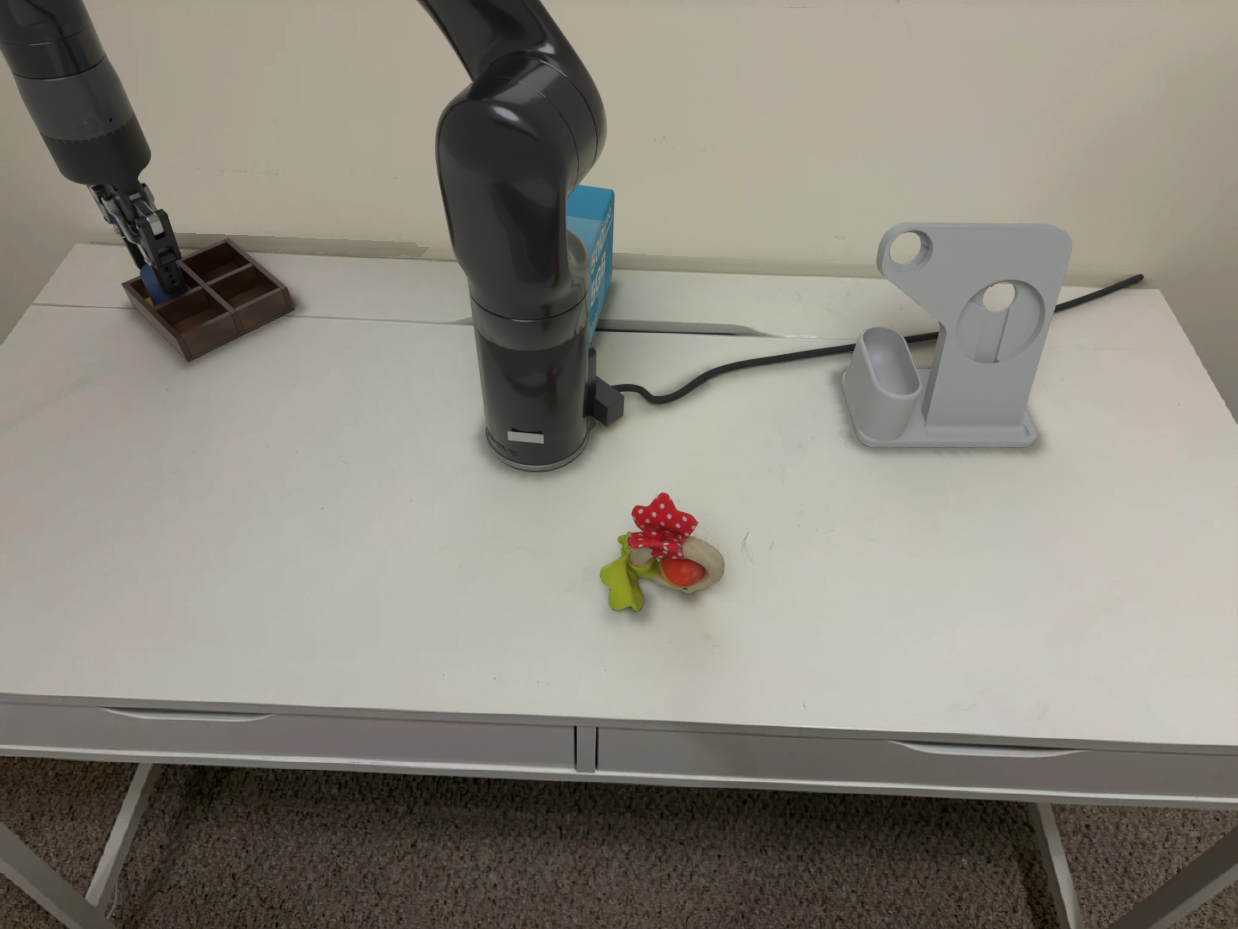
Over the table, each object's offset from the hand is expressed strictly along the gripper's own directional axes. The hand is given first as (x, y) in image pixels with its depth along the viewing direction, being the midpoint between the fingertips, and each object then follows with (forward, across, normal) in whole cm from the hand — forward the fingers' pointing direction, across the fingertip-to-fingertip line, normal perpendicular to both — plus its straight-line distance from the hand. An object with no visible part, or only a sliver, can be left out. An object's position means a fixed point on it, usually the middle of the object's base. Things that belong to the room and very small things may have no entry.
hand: (161, 277), depth 83 cm
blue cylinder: (+3, 0, 0) cm, 3 cm away
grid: (+4, -3, -3) cm, 5 cm away
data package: (+4, -29, -30) cm, 42 cm away
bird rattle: (+4, -58, -11) cm, 60 cm away
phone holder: (+4, -63, -45) cm, 78 cm away
